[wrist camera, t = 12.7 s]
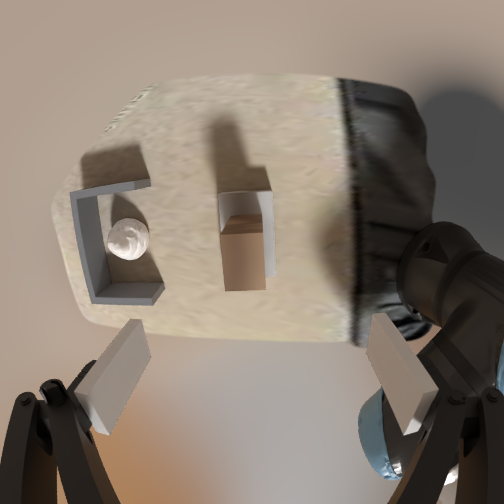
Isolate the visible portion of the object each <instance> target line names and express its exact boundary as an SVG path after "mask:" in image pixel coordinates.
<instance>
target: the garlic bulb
mask: <svg viewBox="0 0 504 504" xmlns="http://www.w3.org/2000/svg"><path fill="white" fill-rule="evenodd" d="M148 242H149V232H148V230H147V227H146V226H145V225H144V224H143V223H141V222H140V221H138V220H136V219H131V218H124V219H122V220H119V221H117V222H116V223H115V224H114V226H113V228H112V229H111V231H110V232H109V235H108V248H109V249H110V250H111V252H112V253H114V254H115V255H116V256H118V257H120V258H122V259H126V260H134V259H138V258H139V257H140V256H141V255H142V254H143V253H144V252H145V251H146V249H147V245H148Z"/></svg>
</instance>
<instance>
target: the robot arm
mask: <svg viewBox="0 0 504 504" xmlns="http://www.w3.org/2000/svg"><path fill="white" fill-rule="evenodd" d="M397 290H398V295H399V298H400V300H401V302H402V304H403V305H404V306H405V307H406V309H407V310H408V311H409V312H410V313H411V314H412V315H413V316H415V317H416V318H418V319H420V320H422V321H425V322H428V323H430V324H433V325H436V326H439V327H441V328H442V329H441V330H440V331H439V332H438V333H437V334H436V336H435V337H434V338H433V339H432V340H431V341H430V342H429V343H428V344H427V345H426V346H425V347H424V348H423V349H422V350H421V351H420V352H419V353H418V354H417V355H415V353H414V352H413V350H412V349H411V348H410V346H409V345H408V343H407V342H406V341H405V339H404V338H403V336H402V335H401V334H400V332H399V331H398V330H397V328H396V327H395V326H394V324H393V323H392V321H391V320H390V319H389V317H388V316H387V315H386V313H378V314H373V317H372V323H371V329H370V335H369V340H368V346H367V351H366V354H367V356H368V358H369V360H370V362H371V364H372V367H373V369H374V371H375V373H376V375H377V377H378V379H379V381H380V383H381V388H380V389H379V390H378V391H377V392H376V393H375V394H374V395H373V396H372V397H371V398H369V399H368V400H367V401H366V402H365V403H364V405H363V406H362V408H361V410H360V413H359V417H358V427H359V429H358V432H359V438H360V442H361V445H362V448H363V451H364V453H365V455H366V457H367V459H368V461H369V463H370V464H371V466H372V467H373V468H374V470H375V471H376V472H377V473H378V474H379V475H380V476H384V478H385V479H387V480H395V479H400V478H402V479H401V481H400V483H399V485H398V486H397V488H396V490H395V492H394V493H393V495H392V497H391V498H390V500H389V502H388V503H387V504H436V503H437V501H438V498H439V499H440V500H441V502H442V503H443V504H504V261H503V260H501V259H499V258H497V257H495V256H493V255H491V254H489V253H487V252H485V250H484V249H483V248H482V247H481V246H480V244H479V243H478V242H477V241H476V240H475V238H474V237H473V236H472V235H471V234H470V233H469V232H468V231H467V230H466V229H465V228H463V227H461V226H459V225H456V224H453V223H451V222H437V223H433V224H431V225H429V226H427V227H425V228H424V229H423V230H421V231H420V232H419V233H418V234H417V235H416V236H415V237H414V238H413V239H412V241H411V242H410V243H409V245H408V246H407V248H406V250H405V252H404V254H403V256H402V258H401V261H400V264H399V268H398V273H397ZM150 359H151V354H150V350H149V347H148V343H147V339H146V335H145V332H144V328H143V324H142V320H140V319H130V320H129V321H128V322H127V324H126V325H125V326H124V327H123V329H122V330H121V331H120V332H119V334H118V335H117V336H116V337H115V339H114V340H113V341H112V342H111V343H110V345H109V346H108V347H107V349H106V350H105V351H104V353H103V354H102V355H101V356H100V358H99V359H98V360H92V361H91V362H89V363H88V364H87V365H85V367H84V368H83V369H82V371H81V372H80V373H79V374H78V377H76V378H75V379H74V381H73V382H72V383H71V385H70V386H69V387H68V389H67V390H66V389H65V387H64V385H63V383H62V381H60V380H58V379H51V380H48V381H46V382H44V383H43V384H42V385H41V387H40V390H39V391H40V393H41V395H42V397H43V398H44V400H37V398H36V397H35V395H34V394H33V393H31V392H24V393H22V394H20V395H19V396H18V397H17V399H16V400H15V403H14V407H13V410H12V414H11V417H10V421H9V425H8V429H7V433H6V438H5V442H4V447H3V452H2V457H1V463H0V504H57V466H58V471H59V474H60V478H61V482H62V485H63V489H64V492H65V496H66V499H67V502H68V504H121V503H120V501H119V499H118V498H117V495H116V493H115V491H114V489H113V487H112V485H111V482H110V480H109V478H108V476H107V473H106V471H105V468H104V466H103V463H102V461H101V458H100V456H99V453H98V450H97V447H96V445H95V442H94V439H93V436H92V433H91V432H90V430H89V429H90V427H91V426H92V425H93V426H94V428H95V430H96V431H97V432H99V433H102V434H106V435H110V434H111V433H112V430H113V429H114V427H115V425H116V423H117V421H118V419H119V417H120V415H121V413H122V411H123V409H124V407H125V405H126V404H127V402H128V400H129V398H130V396H131V394H132V392H133V390H134V389H135V387H136V385H137V383H138V381H139V379H140V377H141V375H142V373H143V372H144V370H145V368H146V366H147V365H148V363H149V361H150Z"/></svg>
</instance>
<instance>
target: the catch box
mask: <svg viewBox="0 0 504 504" xmlns="http://www.w3.org/2000/svg"><path fill="white" fill-rule="evenodd" d="M150 186H151V183H150V179H143V180H136V181H129V182H123V183H117V184H110V185H105V186H99V187H93V188H88V189H83V190H78V191H74V192H70V199H71V207H72V214H73V221H74V227H75V233H76V239H77V244H78V249H79V254H80V259H81V264H82V268H83V272H84V276H85V281H86V285H87V288H88V292H89V296H90V299H91V303H92V304H109V305H150V306H153V305H154V303H155V302H156V301H157V299H158V298H159V296H160V295H161V294H162V292H163V291H164V290H165V287H164V282H149V283H112V282H111V277H110V273H109V268H108V263H107V258H106V253H105V248H104V242H103V237H102V231H101V224H100V217H99V210H98V202H97V196H98V195H104V194H110V193H117V192H124V191H131V190H137V189H141V188H145V187H150Z"/></svg>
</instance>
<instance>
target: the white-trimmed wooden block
mask: <svg viewBox="0 0 504 504" xmlns="http://www.w3.org/2000/svg"><path fill="white" fill-rule="evenodd" d="M218 201H219V213H220V226H221V234H220V242H221V253H222V264H223V274H224V284H225V291H247V290H266V283H265V277H276V267H275V238H274V214H273V192H272V189H265V190H246V191H230V192H221V193H219V194H218Z"/></svg>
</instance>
